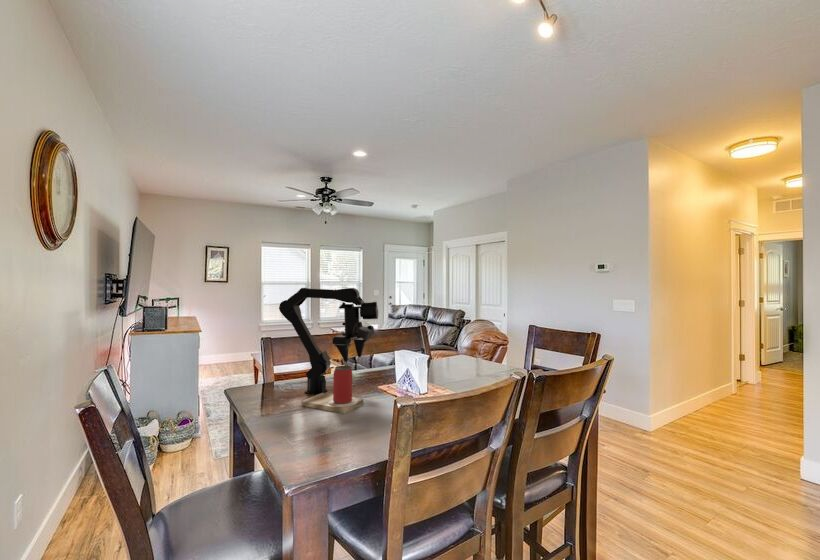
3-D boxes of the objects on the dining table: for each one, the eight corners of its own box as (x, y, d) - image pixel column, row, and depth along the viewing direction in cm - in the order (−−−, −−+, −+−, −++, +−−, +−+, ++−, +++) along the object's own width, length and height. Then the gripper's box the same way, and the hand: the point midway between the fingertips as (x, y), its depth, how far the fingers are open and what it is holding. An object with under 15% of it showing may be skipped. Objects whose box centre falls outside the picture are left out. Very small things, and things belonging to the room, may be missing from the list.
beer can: (353, 398, 141) (353, 365, 141) (350, 404, 134) (351, 369, 134) (334, 398, 140) (335, 365, 140) (331, 404, 134) (331, 369, 134)
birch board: (301, 405, 138) (301, 400, 138) (322, 396, 149) (322, 392, 149) (346, 413, 130) (346, 408, 130) (364, 403, 141) (364, 398, 141)
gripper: (355, 322, 142) (356, 365, 142) (381, 317, 159) (382, 356, 159) (330, 322, 147) (331, 363, 147) (358, 317, 164) (359, 354, 164)
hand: (353, 359), depth 154 cm, fingers open, 9 cm apart
